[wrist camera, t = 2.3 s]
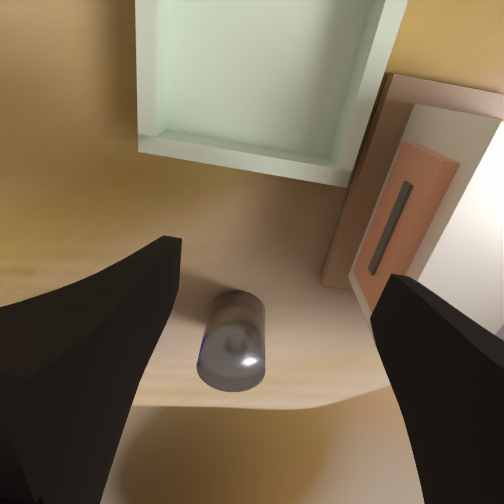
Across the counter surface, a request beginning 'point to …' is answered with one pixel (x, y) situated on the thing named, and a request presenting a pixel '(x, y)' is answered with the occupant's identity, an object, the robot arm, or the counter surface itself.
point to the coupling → (233, 343)
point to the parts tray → (262, 81)
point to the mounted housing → (427, 200)
